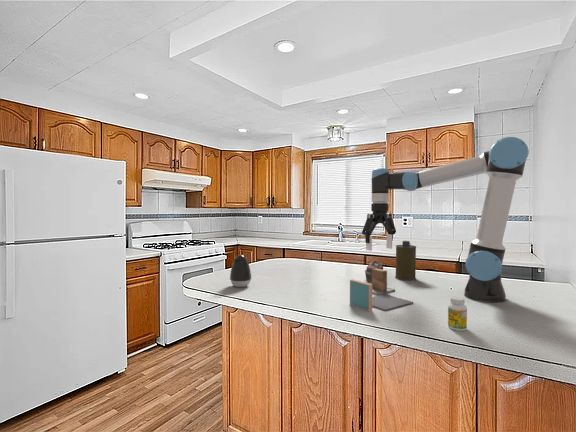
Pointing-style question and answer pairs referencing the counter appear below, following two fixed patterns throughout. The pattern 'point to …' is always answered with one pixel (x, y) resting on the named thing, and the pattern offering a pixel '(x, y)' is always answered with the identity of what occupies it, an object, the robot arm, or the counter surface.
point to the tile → (361, 295)
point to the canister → (405, 261)
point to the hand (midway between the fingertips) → (379, 249)
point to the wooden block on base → (380, 282)
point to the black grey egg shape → (240, 272)
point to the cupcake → (369, 269)
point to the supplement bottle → (457, 314)
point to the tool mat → (388, 302)
